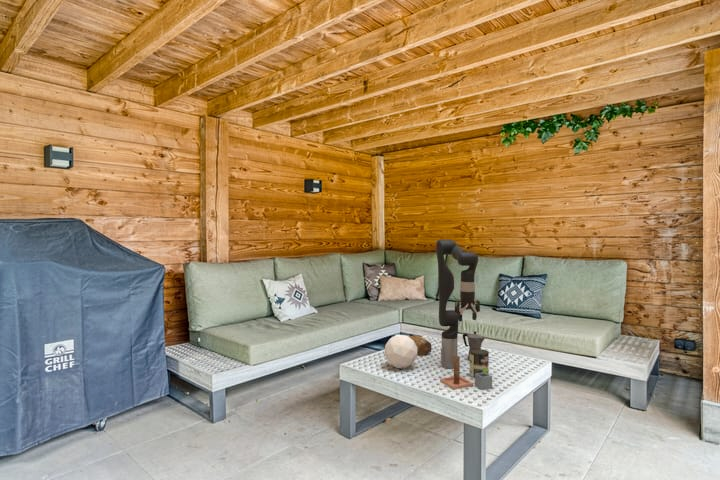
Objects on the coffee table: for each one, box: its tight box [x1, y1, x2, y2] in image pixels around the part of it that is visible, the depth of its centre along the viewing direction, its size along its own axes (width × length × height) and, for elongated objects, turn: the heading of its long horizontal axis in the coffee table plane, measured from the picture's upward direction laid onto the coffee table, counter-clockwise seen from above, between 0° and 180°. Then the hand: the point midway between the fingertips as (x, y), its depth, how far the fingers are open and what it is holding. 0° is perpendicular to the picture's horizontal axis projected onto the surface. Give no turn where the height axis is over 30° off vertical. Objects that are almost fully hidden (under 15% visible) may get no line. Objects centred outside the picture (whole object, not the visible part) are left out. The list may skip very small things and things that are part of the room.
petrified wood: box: [407, 334, 433, 356], centre depth 275 cm, size 19×13×10 cm
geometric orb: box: [384, 334, 418, 370], centre depth 245 cm, size 19×20×20 cm
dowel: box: [453, 355, 461, 385], centre depth 215 cm, size 3×3×14 cm
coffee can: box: [468, 348, 490, 379], centre depth 228 cm, size 10×10×14 cm
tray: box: [439, 375, 474, 390], centre depth 215 cm, size 12×12×2 cm
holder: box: [474, 372, 493, 391], centre depth 211 cm, size 6×6×7 cm
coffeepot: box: [462, 330, 486, 362], centre depth 258 cm, size 15×9×18 cm, turn 44°
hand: (467, 320), depth 219 cm, fingers open, 8 cm apart
